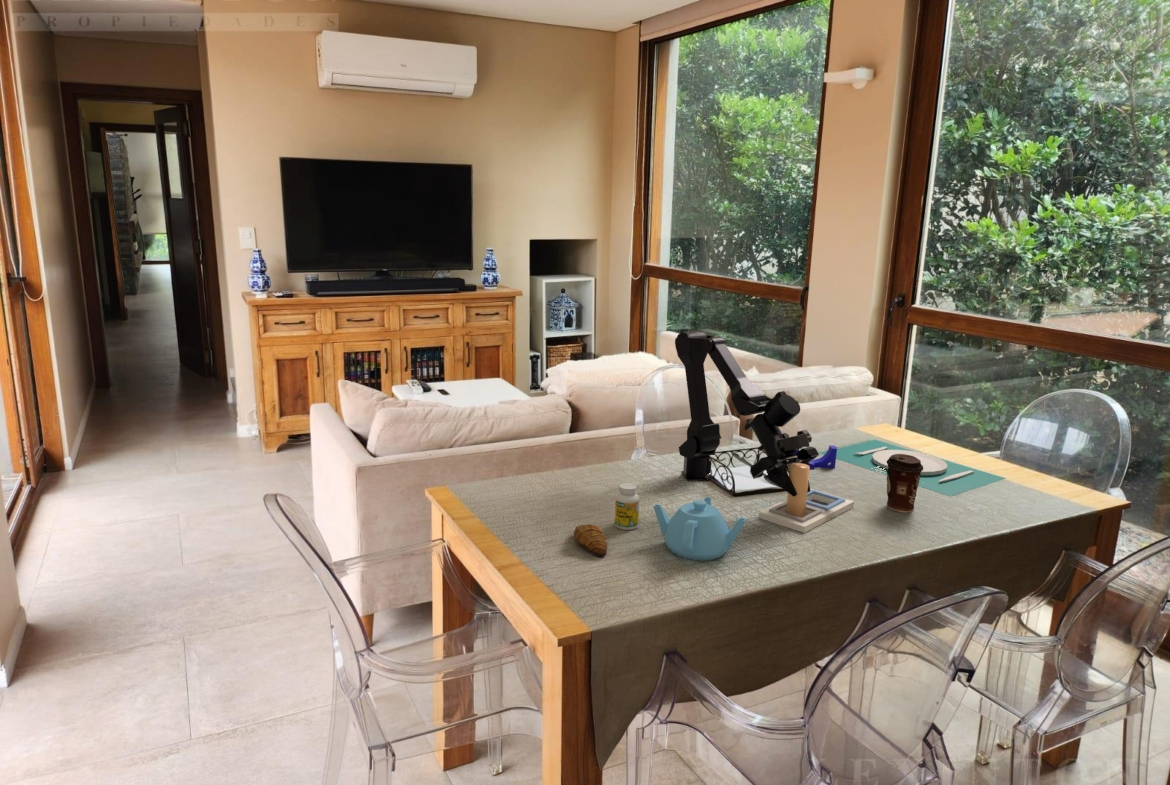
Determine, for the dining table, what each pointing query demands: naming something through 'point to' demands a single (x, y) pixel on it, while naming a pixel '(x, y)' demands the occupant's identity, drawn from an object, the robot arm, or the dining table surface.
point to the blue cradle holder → (824, 459)
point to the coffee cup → (902, 482)
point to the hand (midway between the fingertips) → (802, 493)
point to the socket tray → (808, 511)
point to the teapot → (697, 530)
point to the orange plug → (798, 489)
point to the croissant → (591, 539)
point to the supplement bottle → (627, 507)
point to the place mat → (935, 470)
